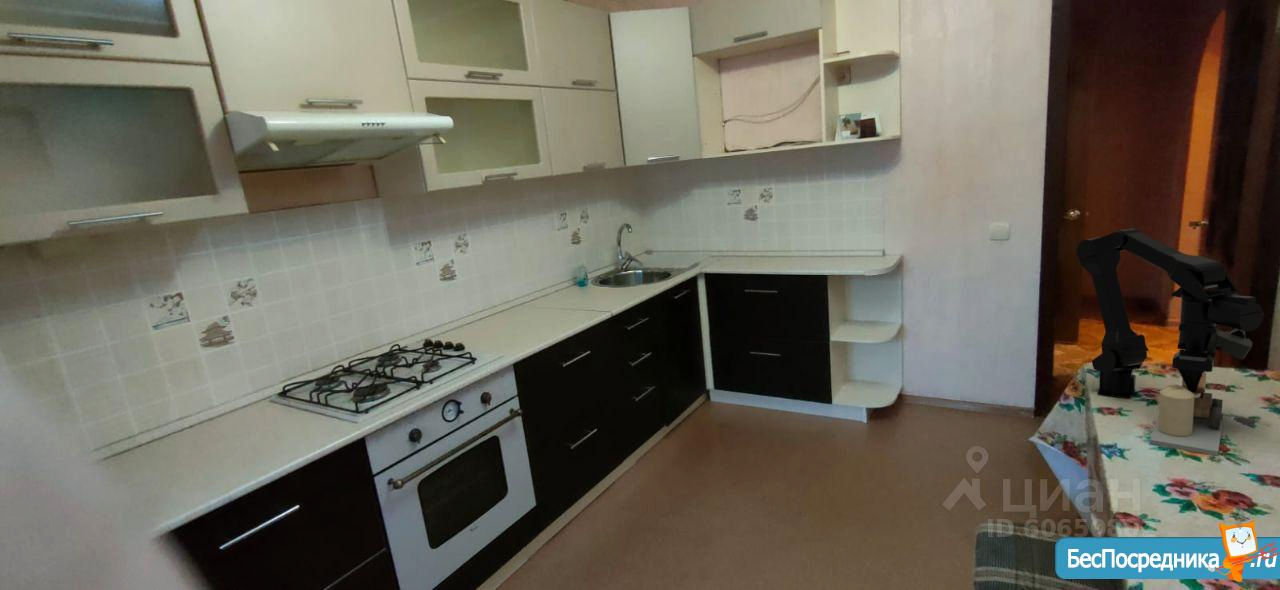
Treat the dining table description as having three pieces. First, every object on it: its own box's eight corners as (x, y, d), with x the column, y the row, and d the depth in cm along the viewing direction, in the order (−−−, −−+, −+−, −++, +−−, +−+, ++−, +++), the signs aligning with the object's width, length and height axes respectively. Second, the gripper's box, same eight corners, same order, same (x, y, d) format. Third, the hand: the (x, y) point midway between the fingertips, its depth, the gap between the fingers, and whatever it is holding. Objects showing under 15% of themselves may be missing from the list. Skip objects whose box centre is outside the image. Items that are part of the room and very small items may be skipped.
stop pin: (1179, 412, 137) (1182, 374, 135) (1181, 406, 140) (1183, 368, 138) (1202, 416, 135) (1205, 376, 133) (1204, 409, 137) (1206, 371, 135)
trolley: (1160, 422, 137) (1161, 400, 136) (1165, 407, 143) (1166, 385, 142) (1219, 432, 130) (1220, 408, 129) (1221, 415, 137) (1223, 392, 135)
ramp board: (1149, 444, 131) (1150, 435, 130) (1160, 412, 143) (1160, 404, 143) (1217, 456, 123) (1218, 446, 123) (1222, 422, 136) (1223, 413, 135)
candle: (1197, 437, 129) (1200, 392, 127) (1164, 436, 131) (1167, 391, 129) (1184, 425, 134) (1187, 382, 132) (1153, 425, 136) (1155, 382, 134)
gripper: (1249, 336, 121) (1243, 411, 124) (1251, 311, 134) (1246, 380, 137) (1174, 330, 129) (1169, 401, 132) (1183, 307, 141) (1179, 372, 145)
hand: (1193, 388), depth 136 cm, fingers closed on stop pin, 4 cm apart
